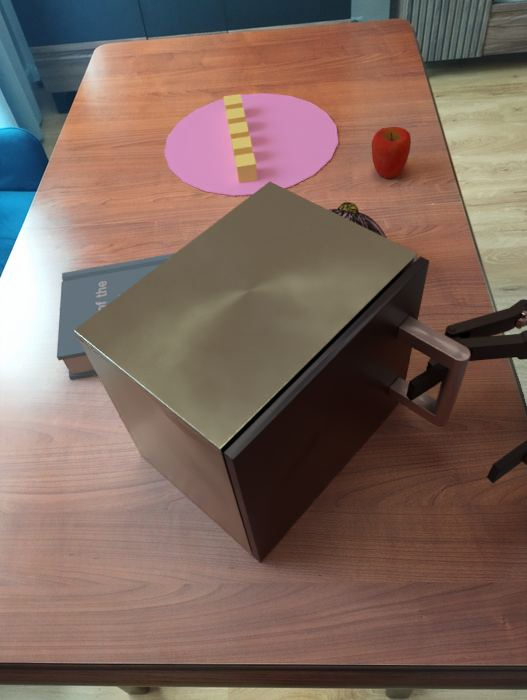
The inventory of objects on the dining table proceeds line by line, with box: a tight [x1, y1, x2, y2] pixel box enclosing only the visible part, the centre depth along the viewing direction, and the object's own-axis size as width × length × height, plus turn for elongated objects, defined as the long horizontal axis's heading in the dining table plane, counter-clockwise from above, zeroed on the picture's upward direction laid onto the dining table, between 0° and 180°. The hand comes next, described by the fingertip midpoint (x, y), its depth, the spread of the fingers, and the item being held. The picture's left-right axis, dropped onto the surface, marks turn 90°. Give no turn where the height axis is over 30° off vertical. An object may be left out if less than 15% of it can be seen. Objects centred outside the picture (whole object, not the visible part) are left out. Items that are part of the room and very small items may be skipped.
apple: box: [371, 126, 412, 179], centre depth 95 cm, size 6×6×8 cm
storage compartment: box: [74, 182, 418, 556], centre depth 61 cm, size 18×26×24 cm
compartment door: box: [224, 256, 471, 564], centre depth 55 cm, size 8×26×23 cm, turn 138°
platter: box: [163, 92, 339, 197], centre depth 106 cm, size 32×32×3 cm
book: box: [56, 252, 176, 380], centre depth 80 cm, size 23×16×5 cm
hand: (449, 430), depth 55 cm, fingers open, 10 cm apart
